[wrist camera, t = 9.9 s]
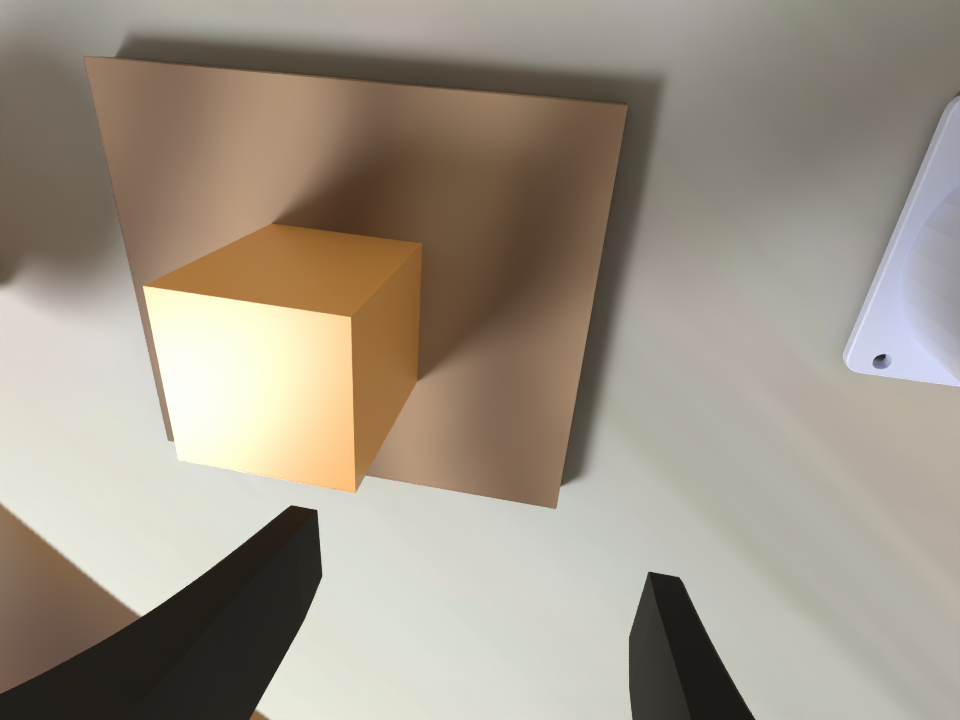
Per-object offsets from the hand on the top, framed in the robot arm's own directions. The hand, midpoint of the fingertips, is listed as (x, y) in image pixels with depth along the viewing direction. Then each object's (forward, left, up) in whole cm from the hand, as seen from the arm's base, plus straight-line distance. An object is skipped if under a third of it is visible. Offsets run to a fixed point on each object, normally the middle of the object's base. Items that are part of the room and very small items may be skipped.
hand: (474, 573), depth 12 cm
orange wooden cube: (+6, -2, -8) cm, 10 cm away
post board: (+6, -2, -9) cm, 11 cm away
